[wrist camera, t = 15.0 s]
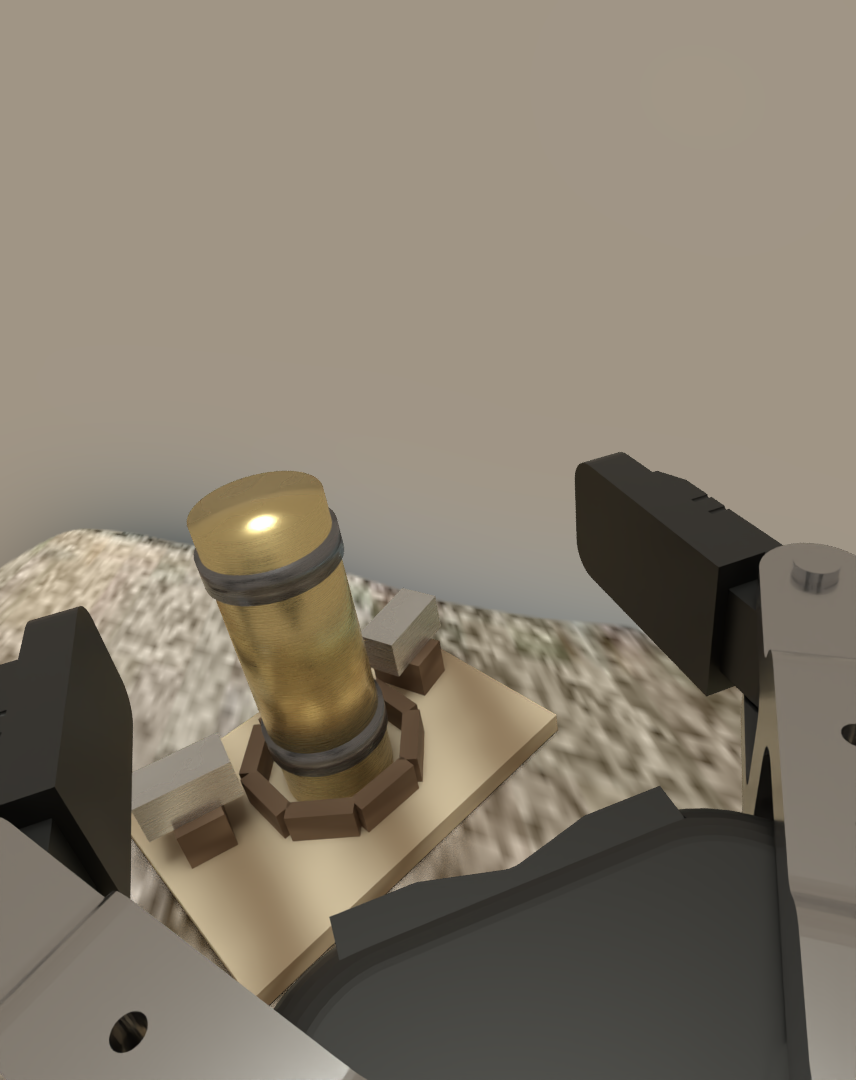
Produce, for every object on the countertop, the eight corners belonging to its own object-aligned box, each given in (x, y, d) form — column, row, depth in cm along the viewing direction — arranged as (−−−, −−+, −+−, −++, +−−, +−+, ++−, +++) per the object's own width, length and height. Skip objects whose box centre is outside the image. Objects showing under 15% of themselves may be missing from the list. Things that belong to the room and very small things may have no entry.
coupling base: (259, 1014, 26) (235, 970, 25) (123, 826, 34) (98, 783, 33) (557, 729, 35) (553, 683, 34) (394, 633, 43) (384, 592, 42)
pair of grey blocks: (160, 857, 29) (142, 825, 28) (129, 816, 31) (111, 784, 30) (454, 634, 38) (449, 603, 37) (416, 613, 40) (409, 583, 39)
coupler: (328, 836, 31) (228, 562, 24) (260, 771, 35) (155, 516, 27) (421, 757, 34) (358, 490, 26) (349, 704, 37) (276, 457, 30)
